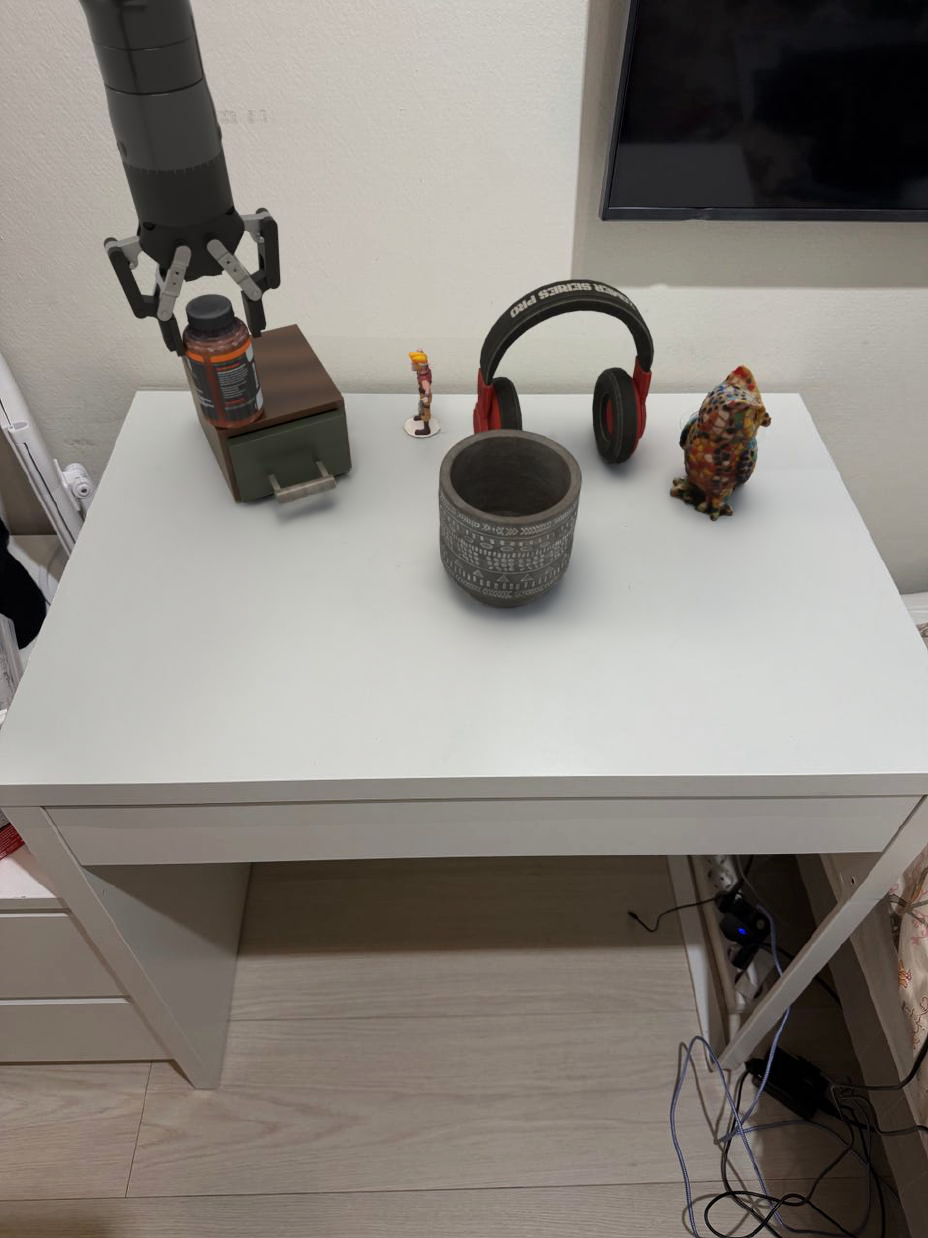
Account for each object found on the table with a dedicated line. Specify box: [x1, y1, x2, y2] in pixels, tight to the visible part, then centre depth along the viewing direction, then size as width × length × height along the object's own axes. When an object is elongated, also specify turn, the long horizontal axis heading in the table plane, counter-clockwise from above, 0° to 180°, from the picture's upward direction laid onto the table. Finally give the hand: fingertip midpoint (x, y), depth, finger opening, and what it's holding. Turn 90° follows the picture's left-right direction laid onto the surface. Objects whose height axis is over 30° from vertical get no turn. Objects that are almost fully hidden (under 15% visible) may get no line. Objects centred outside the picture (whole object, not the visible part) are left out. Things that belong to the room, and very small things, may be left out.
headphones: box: [472, 278, 655, 465], centre depth 84 cm, size 18×10×20 cm, turn 99°
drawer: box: [226, 409, 351, 506], centre depth 87 cm, size 18×12×7 cm, turn 26°
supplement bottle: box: [181, 293, 264, 428], centre depth 78 cm, size 6×6×11 cm
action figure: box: [403, 347, 440, 438], centre depth 91 cm, size 12×3×9 cm, turn 5°
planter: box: [437, 429, 583, 609], centre depth 76 cm, size 12×12×13 cm
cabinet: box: [180, 323, 353, 503], centre depth 90 cm, size 15×13×9 cm
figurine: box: [669, 364, 772, 522], centre depth 83 cm, size 9×9×15 cm
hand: (217, 341), depth 76 cm, fingers open, 6 cm apart
